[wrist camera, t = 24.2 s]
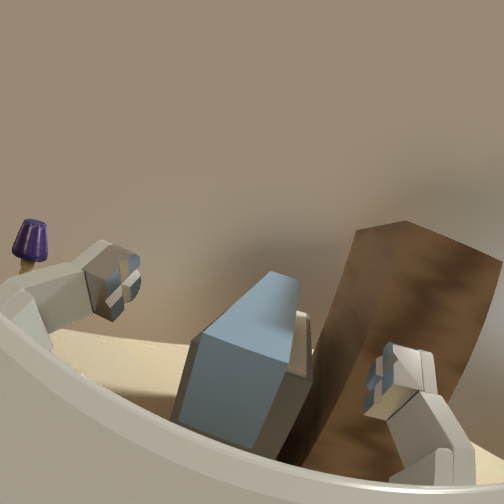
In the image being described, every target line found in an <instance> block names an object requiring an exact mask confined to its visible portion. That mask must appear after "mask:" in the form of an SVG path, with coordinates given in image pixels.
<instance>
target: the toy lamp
mask: <svg viewBox="0 0 504 504" xmlns="http://www.w3.org/2000/svg"><path fill="white" fill-rule="evenodd" d="M12 253H13V254H14V255H15V256H16V257H18V258H21V269H20V271H19V275H20V274H24V273H27V272H31V271H32V269H33V267H34V263H35V262H43V261H45V260H46V259H47V256H48V251H47V226H46V224H45V223H44V222H41V221H38V220H33V219H25V220H24V222H23V224H22V226H21V228H20V230H19V232H18V235H17V237H16V240H15V242H14V245H13V247H12Z"/></svg>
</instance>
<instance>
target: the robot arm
mask: <svg viewBox="0 0 504 504" xmlns="http://www.w3.org/2000/svg"><path fill="white" fill-rule="evenodd" d="M139 266H140V257H139V256H138V255H137V254H135V253H133V252H131V251H128V250H126V249H124V248H121V247H119V246H117V245H114V244H111V243H109V242H107V241H105V240H98V241H97V242H96V243H95V244H93V245H92V246H91V247H89V248H88V249H87V250H86V251H84V252H83V253H82V254H81V255H79V256H78V257H77V258H76V259H74V260H73V261H72V262H71V263H67V262H65V263H61V264H57V265H53V266H50V267H46V268H42V269H39V270H35V271H31V272H27V273H24V274H20V275H17V276H13V277H10V278H8V279H7V280H6V281H5V282H4V283H2V284H1V285H0V504H504V483H499V484H488V485H476V469H475V449H474V448H473V446H472V444H471V442H470V441H469V439H468V437H467V436H466V434H465V433H464V431H463V429H462V428H461V426H460V424H459V423H458V421H457V420H456V418H455V416H454V415H453V413H452V411H451V410H450V408H449V407H448V405H447V404H446V402H445V400H444V399H443V397H442V396H441V395H438V393H437V383H436V374H435V366H434V358H433V355H432V353H431V352H428V351H424V350H420V349H415V348H412V347H408V346H405V345H401V344H397V343H394V342H389V343H387V344H386V346H385V347H384V348H383V355H382V356H380V357H378V358H376V359H375V361H374V362H373V363H372V365H371V367H370V370H369V372H368V376H367V383H366V386H367V388H368V390H369V391H370V392H369V394H368V395H367V396H366V397H365V405H364V415H366V416H370V417H374V418H378V419H382V420H386V421H387V425H388V427H389V430H390V432H391V435H392V437H393V440H394V442H395V445H396V447H397V450H398V453H399V455H400V458H401V460H402V463H403V466H404V468H405V469H403V470H401V471H400V472H398V473H396V474H394V475H393V476H391V477H390V478H389V483H386V482H378V481H370V480H363V479H356V478H350V477H344V476H339V475H334V474H329V473H324V472H319V471H314V470H310V469H306V468H302V467H298V466H294V465H290V464H286V463H282V462H279V461H275V460H272V459H268V458H265V457H262V456H259V455H255V454H252V453H249V452H246V451H243V450H240V449H237V448H235V447H232V446H229V445H226V444H223V443H221V442H218V441H215V440H213V439H210V438H208V437H205V436H203V435H200V434H198V433H195V432H193V431H191V430H188V429H186V428H184V427H181V426H179V425H177V424H175V423H173V422H170V421H168V420H166V419H164V418H162V417H160V416H158V415H156V414H154V413H152V412H150V411H148V410H146V409H144V408H142V407H140V406H138V405H136V404H134V403H132V402H130V401H128V400H126V399H125V398H123V397H121V396H119V395H117V394H116V393H114V392H112V391H110V390H109V389H107V388H105V387H104V386H102V385H100V384H98V383H97V382H95V381H94V380H92V379H90V378H89V377H87V376H86V375H84V374H82V373H81V372H79V371H78V370H76V369H75V368H73V367H72V366H70V365H69V364H67V363H66V362H64V361H63V360H61V359H60V358H58V357H57V356H56V355H54V354H53V353H51V352H50V351H51V350H52V349H53V344H52V342H51V340H50V337H49V335H48V334H50V333H52V332H54V331H56V330H59V329H61V328H63V327H65V326H68V325H70V324H72V323H74V322H76V321H78V320H81V319H83V318H85V317H88V316H90V315H92V314H93V313H95V314H97V315H99V316H101V317H103V318H105V319H107V320H109V321H111V322H114V321H115V320H116V318H117V317H118V316H119V315H120V314H121V313H122V312H123V310H124V304H125V303H128V302H131V301H132V300H133V299H134V298H135V297H136V295H137V293H138V291H139V289H140V285H141V275H140V273H139V272H138V270H137V268H138V267H139Z"/></svg>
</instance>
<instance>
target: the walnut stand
mask: <svg viewBox="0 0 504 504" xmlns="http://www.w3.org/2000/svg"><path fill="white" fill-rule="evenodd" d="M502 263H503V262H502V261H500V260H497V259H495V258H493V257H491V256H489V255H487V254H484V253H482V252H480V251H478V250H476V249H473V248H471V247H469V246H467V245H464V244H462V243H460V242H457V241H455V240H453V239H450V238H448V237H445V236H443V235H441V234H438V233H436V232H433V231H431V230H428V229H426V228H423V227H421V226H418V225H416V224H413V223H411V222H408V221H402V222H396V223H392V224H386V225H381V226H376V227H370V228H366V229H360V230H357V231H356V233H355V237H354V240H353V243H352V246H351V250H350V252H349V256H348V259H347V262H346V265H345V268H344V271H343V274H342V277H341V280H340V283H339V285H338V289H337V291H336V294H335V297H334V300H333V303H332V305H331V308H330V311H329V313H328V316H327V319H326V321H325V324H324V327H323V329H322V332H321V334H320V337H319V339H318V342H317V345H316V347H315V350H314V352H313V355H312V376H313V383H312V386H311V388H310V390H309V392H308V395H307V397H306V399H305V401H304V403H303V405H302V407H301V410H300V412H299V414H298V416H297V418H296V420H295V422H294V424H293V426H292V428H291V430H290V432H289V434H288V436H287V438H286V440H285V442H284V444H283V446H282V448H281V450H280V452H279V453H278V456H277V461H279V462H282V463H286V464H290V465H294V466H298V467H302V468H306V469H310V470H314V471H319V472H324V473H329V474H334V475H339V476H344V477H350V478H356V479H363V480H370V481H378V482H386V483H389V478H390V477H391V476H393V475H394V474H396V473H398V472H400V471H401V470H403V469H405V468H404V466H403V463H402V460H401V458H400V455H399V453H398V450H397V447H396V445H395V442H394V440H393V437H392V435H391V432H390V430H389V427H388V425H387V421H386V420H382V419H378V418H374V417H370V416H366V415H364V405H365V397H366V396H367V395H368V394H369V392H370V391H369V390H368V388H367V386H366V383H367V376H368V372H369V370H370V367H371V365H372V363H373V362H374V361H375V359H376V358H378V357H380V356H382V355H383V348H384V347H385V346H386V344H387V343H389V342H394V343H397V344H401V345H405V346H408V347H412V348H415V349H420V350H424V351H428V352H431V353H432V355H433V358H434V366H435V374H436V383H437V393H438V395H441V396H442V397H443V399H444V400H445V402H446V404H447V403H448V401H449V399H450V398H451V396H452V394H453V392H454V390H455V388H456V386H457V384H458V382H459V380H460V378H461V376H462V374H463V371H464V369H465V367H466V365H467V363H468V361H469V359H470V356H471V354H472V352H473V349H474V347H475V345H476V342H477V340H478V337H479V335H480V332H481V329H482V327H483V324H484V322H485V319H486V316H487V313H488V310H489V307H490V304H491V301H492V298H493V295H494V292H495V288H496V285H497V281H498V278H499V275H500V271H501V267H502Z"/></svg>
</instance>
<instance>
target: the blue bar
mask: <svg viewBox="0 0 504 504" xmlns="http://www.w3.org/2000/svg"><path fill="white" fill-rule="evenodd" d="M300 283H301V281H299V280H296V279H293V278H290V277H287V276H284V275H281V274H278V273H275V272H272V271H270V272H269V273H268V274H267V275H266V276H265V277H264V278H263V279H262V280H261V281H259V282H258V283H257V284H256V285H255V286H254V287H253V288H252V289H251V290H249V291H248V292H247V293H246V294H245V295H244V296H243V297H242V298H241V299H240V300H238V301H237V302H236V303H235V304H234V305H233V306H232V307H231V308H230V309H228V310H227V311H226V312H225V313H224V314H223V315H222V316H221V317H220V318H218V319H217V320H216V321H215V322H214V323H213V324H212V325H211V326H209V327H208V328H207V329H206V330H205V331H204V332H203V333H202V337H201V340H200V344H199V347H198V351H197V354H196V358H195V361H194V365H193V369H192V372H191V376H190V379H189V383H188V387H187V390H186V394H185V398H184V401H183V405H182V409H181V412H180V416H179V420H178V421H180V422H182V423H184V424H187V425H189V426H191V427H194V428H196V429H199V430H201V431H204V432H206V433H209V434H211V435H214V436H216V437H219V438H222V439H224V440H227V441H230V442H233V443H235V444H238V445H241V446H244V447H247V448H250V449H252V447H253V445H254V443H255V441H256V439H257V437H258V434H259V432H260V430H261V428H262V425H263V423H264V421H265V419H266V416H267V414H268V412H269V410H270V407H271V405H272V403H273V400H274V398H275V396H276V393H277V391H278V388H279V386H280V384H281V381H282V379H283V376H284V374H285V371H286V369H287V366H288V364H289V358H290V352H291V346H292V339H293V333H294V326H295V319H296V312H297V305H298V298H299V290H300Z"/></svg>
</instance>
